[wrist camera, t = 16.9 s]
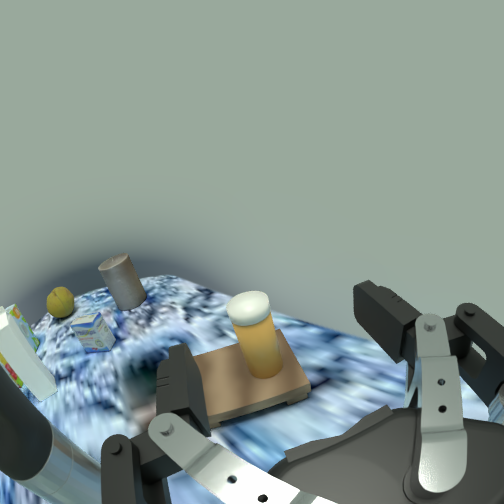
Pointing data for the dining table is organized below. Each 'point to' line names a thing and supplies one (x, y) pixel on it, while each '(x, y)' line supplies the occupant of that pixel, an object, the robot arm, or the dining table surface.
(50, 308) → the fruit
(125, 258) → the pillar candle
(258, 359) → the beer glass
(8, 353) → the milk
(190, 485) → the dining table surface
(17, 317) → the snack box
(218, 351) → the walnut stand
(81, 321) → the medicine box
